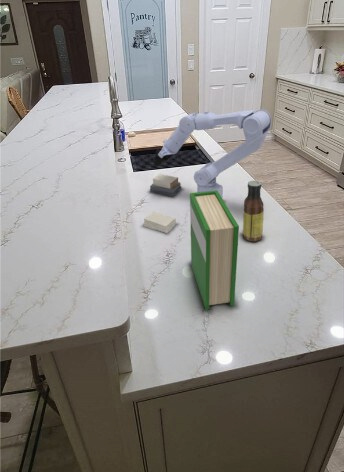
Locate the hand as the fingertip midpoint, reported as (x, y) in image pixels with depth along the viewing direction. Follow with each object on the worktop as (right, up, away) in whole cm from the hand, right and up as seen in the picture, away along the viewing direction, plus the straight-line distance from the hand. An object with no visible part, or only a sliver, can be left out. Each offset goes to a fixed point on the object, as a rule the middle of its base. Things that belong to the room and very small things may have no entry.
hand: (160, 160), depth 134 cm
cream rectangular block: (0, -25, -17) cm, 30 cm away
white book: (+2, -10, +5) cm, 11 cm away
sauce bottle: (+31, -28, -25) cm, 49 cm away
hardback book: (+15, -38, -44) cm, 60 cm away
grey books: (+2, -12, +6) cm, 14 cm away
